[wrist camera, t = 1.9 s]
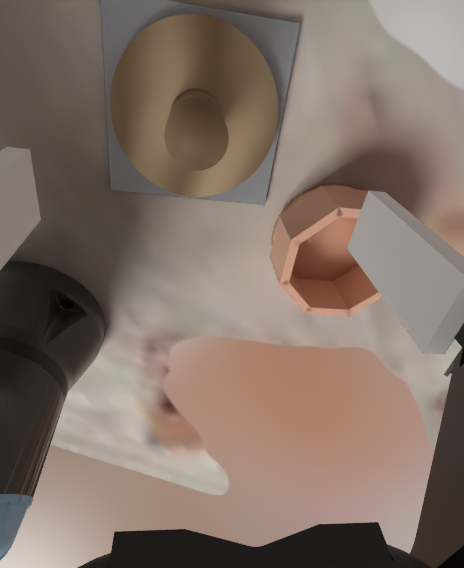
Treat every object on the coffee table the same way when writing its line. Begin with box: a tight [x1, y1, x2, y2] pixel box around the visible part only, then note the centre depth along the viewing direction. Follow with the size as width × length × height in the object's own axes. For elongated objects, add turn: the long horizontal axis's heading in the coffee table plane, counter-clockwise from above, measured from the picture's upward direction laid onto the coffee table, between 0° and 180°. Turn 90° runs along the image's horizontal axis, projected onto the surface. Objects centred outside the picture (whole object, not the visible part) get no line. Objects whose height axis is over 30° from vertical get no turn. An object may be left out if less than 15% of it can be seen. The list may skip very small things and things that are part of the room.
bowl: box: [270, 184, 382, 316], centre depth 35 cm, size 11×11×6 cm
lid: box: [110, 14, 278, 197], centre depth 26 cm, size 13×13×8 cm
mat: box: [100, 0, 300, 205], centre depth 29 cm, size 14×14×1 cm
